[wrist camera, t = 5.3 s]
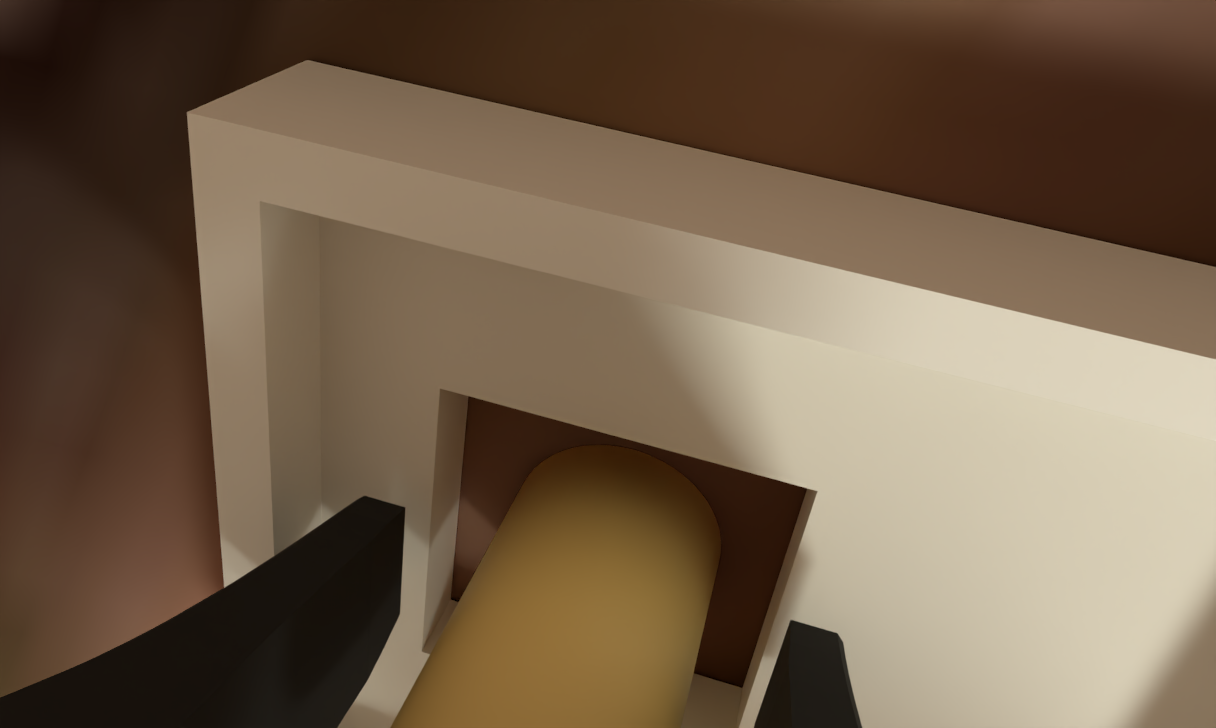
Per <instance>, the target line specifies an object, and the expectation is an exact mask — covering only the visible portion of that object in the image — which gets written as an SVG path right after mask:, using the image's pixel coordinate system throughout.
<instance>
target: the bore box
mask: <svg viewBox="0 0 1216 728" xmlns="http://www.w3.org/2000/svg"><path fill="white" fill-rule="evenodd" d="M187 121H188V134H189V147H190V159H191V172H192V185H193V197H194V210H195V223H196V236H197V248H198V261H199V274H200V286H201V299H202V312H203V324H204V337H205V350H206V362H207V375H208V388H209V400H210V413H211V426H212V438H213V451H214V464H215V476H216V489H217V502H218V514H219V527H220V540H221V553H222V565H223V578H224V588H225V587H226V586H228V585H229V584H231V583H233V582H234V581H236V580H238V579H239V578H241V577H242V576H244V575H245V574H247V573H248V572H250V571H251V570H253V569H255V568H256V567H258V566H259V565H261V564H262V563H264V562H265V561H267V560H269V559H270V558H272V557H273V556H275V555H276V554H278V553H279V552H281V551H282V550H284V549H285V548H287V547H288V546H290V545H291V544H293V543H294V542H296V541H297V540H299V539H300V538H302V537H303V536H305V535H306V534H308V533H309V532H310V531H312V530H313V529H315V528H316V527H318V526H319V525H321V524H322V523H323V522H325V521H326V520H328V519H329V518H331V517H332V516H334V515H335V514H336V513H338V512H339V511H341V510H342V509H344V508H345V507H347V506H348V505H350V504H351V503H353V502H354V501H355V500H357V499H359V498H361V497H363V496H368V497H371V498H375V499H378V500H382V501H385V502H389V503H392V504H395V505H399V506H402V507H405V526H404V546H403V565H402V585H401V604H400V615H399V617H398V620H397V622H396V624H395V626H394V628H393V630H392V632H391V634H390V636H389V638H388V640H387V643H386V645H385V647H384V649H383V651H382V653H381V655H380V657H379V659H378V661H377V663H376V665H375V667H374V669H373V671H372V673H371V675H370V677H369V679H368V680H367V682H366V684H365V685H364V687H363V688H362V690H361V692H360V693H359V695H358V696H357V698H356V699H355V701H354V703H353V704H352V706H351V707H350V709H349V710H348V712H347V713H346V715H345V717H344V718H343V720H342V721H341V723H340V724H339V726H338V727H337V728H390V727H391V725H392V723H393V722H394V720H395V718H396V716H397V714H398V712H399V711H400V709H401V707H402V705H403V703H404V701H405V700H406V698H407V696H408V694H409V692H410V690H411V689H412V687H413V685H414V683H415V681H416V679H417V678H418V676H419V674H420V672H421V670H422V668H423V667H424V665H425V663H426V661H427V659H428V657H429V656H430V654H431V652H432V650H433V648H434V646H435V645H436V643H437V641H438V639H439V637H440V635H441V634H442V632H443V630H444V628H445V626H446V624H447V622H448V621H449V619H450V617H451V615H452V613H453V611H454V610H455V608H456V606H457V604H458V602H456V601H453V600H451V590H452V579H453V567H454V556H455V545H456V533H457V522H458V511H459V499H460V488H461V476H462V465H463V454H464V442H465V431H466V420H467V408H468V397H469V396H470V397H473V398H477V399H481V400H484V401H488V402H492V403H495V404H499V405H503V406H506V407H510V408H514V409H517V410H521V411H525V412H528V413H532V414H536V415H540V416H543V417H547V418H551V419H554V420H558V421H562V422H565V423H569V424H573V425H576V426H580V427H584V428H587V429H591V430H595V431H598V432H602V433H606V434H609V435H613V436H617V437H620V438H624V439H628V440H631V441H635V442H639V443H642V444H646V445H650V446H653V447H657V448H661V449H664V450H668V451H672V452H675V453H679V454H683V455H687V456H690V457H694V458H698V459H701V460H705V461H709V462H712V463H716V464H720V465H723V466H727V467H731V468H734V469H738V470H742V471H745V472H749V473H753V474H756V475H760V476H764V477H767V478H771V479H775V480H778V481H782V482H786V483H789V484H793V485H797V486H800V487H804V488H807V491H806V494H805V497H804V500H803V503H802V506H801V509H800V512H799V515H798V518H797V521H796V525H795V528H794V531H793V534H792V537H791V540H790V543H789V546H788V549H787V552H786V555H785V558H784V561H783V565H782V568H781V571H780V574H779V577H778V580H777V583H776V586H775V589H774V592H773V595H772V598H771V601H770V604H769V608H768V611H767V614H766V617H765V620H764V623H763V626H762V629H761V632H760V635H759V638H758V641H757V644H756V648H755V651H754V654H753V657H752V660H751V663H750V666H749V669H748V672H747V675H746V678H745V681H744V684H743V687H742V688H740V687H737V686H734V685H731V684H727V683H724V682H721V681H717V680H714V679H711V678H707V677H704V676H701V675H698V674H694V673H693V677H692V682H691V686H690V690H689V695H688V699H687V703H686V708H685V712H684V716H683V721H682V725H681V728H754V725H755V721H756V718H757V715H758V713H759V710H760V707H761V704H762V701H763V698H764V695H765V692H766V689H767V686H768V684H769V681H770V678H771V675H772V672H773V669H774V666H775V663H776V660H777V657H778V655H779V652H780V649H781V646H782V643H783V640H784V637H785V634H786V631H787V628H788V626H789V623H790V620H794V621H797V622H801V623H804V624H808V625H811V626H814V627H818V628H821V629H825V630H828V631H832V632H835V633H838V635H839V636H840V638H841V639H842V641H843V644H844V650H845V656H846V662H847V667H848V672H849V677H850V681H851V686H852V690H853V694H854V698H855V702H856V706H857V710H858V714H859V717H860V721H861V725H862V728H1216V267H1213V266H1209V265H1204V264H1200V263H1196V262H1191V261H1187V260H1182V259H1178V258H1174V257H1169V256H1165V255H1161V254H1156V253H1152V252H1147V251H1143V250H1139V249H1134V248H1130V247H1125V246H1121V245H1117V244H1112V243H1108V242H1104V241H1099V240H1095V239H1090V238H1086V237H1082V236H1077V235H1073V234H1068V233H1064V232H1060V231H1055V230H1051V229H1047V228H1042V227H1038V226H1033V225H1029V224H1025V223H1020V222H1016V221H1011V220H1007V219H1003V218H998V217H994V216H990V215H985V214H981V213H976V212H972V211H968V210H963V209H959V208H954V207H950V206H946V205H941V204H937V203H932V202H928V201H924V200H919V199H915V198H911V197H906V196H902V195H897V194H893V193H889V192H884V191H880V190H875V189H871V188H867V187H862V186H858V185H854V184H849V183H845V182H840V181H836V180H832V179H827V178H823V177H818V176H814V175H810V174H805V173H801V172H797V171H792V170H788V169H783V168H779V167H775V166H770V165H766V164H761V163H757V162H753V161H748V160H744V159H740V158H735V157H731V156H726V155H722V154H718V153H713V152H709V151H704V150H700V149H696V148H691V147H687V146H683V145H678V144H674V143H669V142H665V141H661V140H656V139H652V138H647V137H643V136H639V135H634V134H630V133H625V132H621V131H617V130H612V129H608V128H604V127H599V126H595V125H590V124H586V123H582V122H577V121H573V120H568V119H564V118H560V117H555V116H551V115H547V114H542V113H538V112H533V111H529V110H525V109H520V108H516V107H511V106H507V105H503V104H498V103H494V102H490V101H485V100H481V99H476V98H472V97H468V96H463V95H459V94H454V93H450V92H446V91H441V90H437V89H433V88H428V87H424V86H419V85H415V84H411V83H406V82H402V81H397V80H393V79H389V78H384V77H380V76H375V75H371V74H367V73H362V72H358V71H354V70H349V69H345V68H340V67H336V66H332V65H327V64H323V63H318V62H314V61H310V60H306V61H304V62H301V63H299V64H297V65H294V66H292V67H290V68H287V69H285V70H283V71H281V72H278V73H276V74H274V75H271V76H269V77H267V78H264V79H262V80H260V81H258V82H255V83H253V84H251V85H248V86H246V87H244V88H241V89H239V90H237V91H235V92H232V93H230V94H228V95H225V96H223V97H221V98H218V99H216V100H214V101H212V102H209V103H207V104H205V105H202V106H200V107H198V108H195V109H193V110H191V111H189V112H187Z"/></svg>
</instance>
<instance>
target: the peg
mask: <svg viewBox="0 0 1216 728" xmlns="http://www.w3.org/2000/svg"><path fill="white" fill-rule="evenodd" d="M720 555H721V536H720V530H719V526H718V523H717V520H716V517H715V515H714V513H713V511H712V509H711V507H710V505H709V504H708V502H707V501H706V499H705V497H704V496H703V495H702V494H701V492H700V491H699V490H698V489H697V488H696V486H695V485H693V484H692V483H691V482H690V481H689V480H688V479H687V478H686V477H685V476H684V475H682V474H681V473H680V472H678V471H677V470H676V469H674V468H673V467H671V466H670V465H668V464H666V463H665V462H663V461H661V460H659V459H657V458H655V457H653V456H650V455H648V454H645V453H642V452H639V451H637V450H633V449H629V448H624V447H620V446H611V445H587V446H579V447H575V448H571V449H567V450H564V451H561V452H559V453H556V454H554V455H552V456H551V457H549V458H547V459H545V460H544V461H543V462H542V463H540V464H539V465H538V466H536V467H535V469H534V470H533V471H532V472H531V473H530V474H529V475H528V477H527V478H526V480H525V482H524V483H523V485H522V487H521V488H520V490H519V492H518V494H517V496H516V498H515V499H514V501H513V503H512V505H511V507H510V509H509V510H508V512H507V514H506V516H505V518H504V520H503V521H502V523H501V525H500V527H499V529H498V531H497V533H496V534H495V536H494V538H493V540H492V542H491V544H490V545H489V547H488V549H487V551H486V553H485V555H484V556H483V558H482V560H481V562H480V564H479V566H478V567H477V569H476V571H475V573H474V575H473V577H472V578H471V580H470V582H469V584H468V586H467V588H466V589H465V591H464V593H463V595H462V597H461V599H460V600H459V602H458V604H457V606H456V608H455V610H454V611H453V613H452V615H451V617H450V619H449V621H448V622H447V624H446V626H445V628H444V630H443V632H442V634H441V635H440V637H439V639H438V641H437V643H436V645H435V646H434V648H433V650H432V652H431V654H430V656H429V657H428V659H427V661H426V663H425V665H424V667H423V668H422V670H421V672H420V674H419V676H418V678H417V679H416V681H415V683H414V685H413V687H412V689H411V690H410V692H409V694H408V696H407V698H406V700H405V701H404V703H403V705H402V707H401V709H400V711H399V712H398V714H397V716H396V718H395V720H394V722H393V723H392V725H391V727H390V728H681V725H682V721H683V716H684V712H685V708H686V703H687V699H688V695H689V690H690V686H691V682H692V677H693V673H694V669H695V664H696V660H697V656H698V651H699V647H700V643H701V638H702V634H703V630H704V625H705V621H706V617H707V612H708V608H709V604H710V599H711V595H712V591H713V586H714V582H715V578H716V573H717V569H718V565H719V560H720Z"/></svg>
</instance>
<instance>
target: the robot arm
mask: <svg viewBox="0 0 1216 728" xmlns="http://www.w3.org/2000/svg"><path fill="white" fill-rule="evenodd" d="M404 526H405V507H402V506H399V505H395V504H392V503H389V502H385V501H382V500H378V499H375V498H371V497H368V496H363V497H361V498H359V499H357V500H355V501H354V502H353V503H351V504H350V505H348V506H347V507H345V508H344V509H342V510H341V511H339V512H338V513H336V514H335V515H334V516H332V517H331V518H329V519H328V520H326V521H325V522H323V523H322V524H321V525H319V526H318V527H316V528H315V529H313V530H312V531H310V532H309V533H308V534H306V535H305V536H303V537H302V538H300V539H299V540H297V541H296V542H294V543H293V544H291V545H290V546H288V547H287V548H285V549H284V550H282V551H281V552H279V553H278V554H276V555H275V556H273V557H272V558H270V559H269V560H267V561H265V562H264V563H262V564H261V565H259V566H258V567H256V568H255V569H253V570H251V571H250V572H248V573H247V574H245V575H244V576H242V577H241V578H239V579H238V580H236V581H234V582H233V583H231V584H229V585H228V586H226V587H225V588H223V589H221V590H220V591H218V592H216V593H214V594H213V595H211V596H209V597H208V598H206V599H204V600H202V601H201V602H199V603H197V604H195V605H194V606H192V607H190V608H189V609H187V610H185V611H183V612H182V613H180V614H178V615H177V616H175V617H173V618H171V619H170V620H168V621H166V622H164V623H162V624H160V625H159V626H157V627H155V628H153V629H151V630H149V631H147V632H145V633H144V634H142V635H140V636H138V637H136V638H134V639H132V640H130V641H128V642H126V643H124V644H122V645H120V646H118V647H116V648H114V649H112V650H110V651H108V652H105V653H103V654H101V655H99V656H97V657H95V658H93V659H91V660H89V661H87V662H84V663H82V664H80V665H77V666H75V667H73V668H71V669H68V670H66V671H64V672H61V673H59V674H57V675H54V676H52V677H49V678H47V679H44V680H42V681H40V682H37V683H35V684H32V685H30V686H28V687H25V688H23V689H20V690H18V691H16V692H13V693H11V694H8V695H6V696H3V697H1V698H0V728H337V727H338V726H339V724H340V723H341V721H342V720H343V718H344V717H345V715H346V713H347V712H348V710H349V709H350V707H351V706H352V704H353V703H354V701H355V699H356V698H357V696H358V695H359V693H360V692H361V690H362V688H363V687H364V685H365V684H366V682H367V680H368V679H369V677H370V675H371V673H372V671H373V669H374V667H375V665H376V663H377V661H378V659H379V657H380V655H381V653H382V651H383V649H384V647H385V645H386V643H387V640H388V638H389V636H390V634H391V632H392V630H393V628H394V626H395V624H396V622H397V620H398V617H399V615H400V604H401V585H402V565H403V546H404ZM754 728H862V725H861V721H860V717H859V714H858V710H857V706H856V702H855V698H854V694H853V690H852V686H851V681H850V677H849V672H848V667H847V662H846V656H845V650H844V644H843V641H842V639H841V638H840V636H839V635H838V633H835V632H832V631H828V630H825V629H821V628H818V627H814V626H811V625H808V624H804V623H801V622H797V621H794V620H790V623H789V626H788V628H787V631H786V634H785V637H784V640H783V643H782V646H781V649H780V652H779V655H778V657H777V660H776V663H775V666H774V669H773V672H772V675H771V678H770V681H769V684H768V686H767V689H766V692H765V695H764V698H763V701H762V704H761V707H760V710H759V713H758V715H757V718H756V721H755V725H754Z"/></svg>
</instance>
